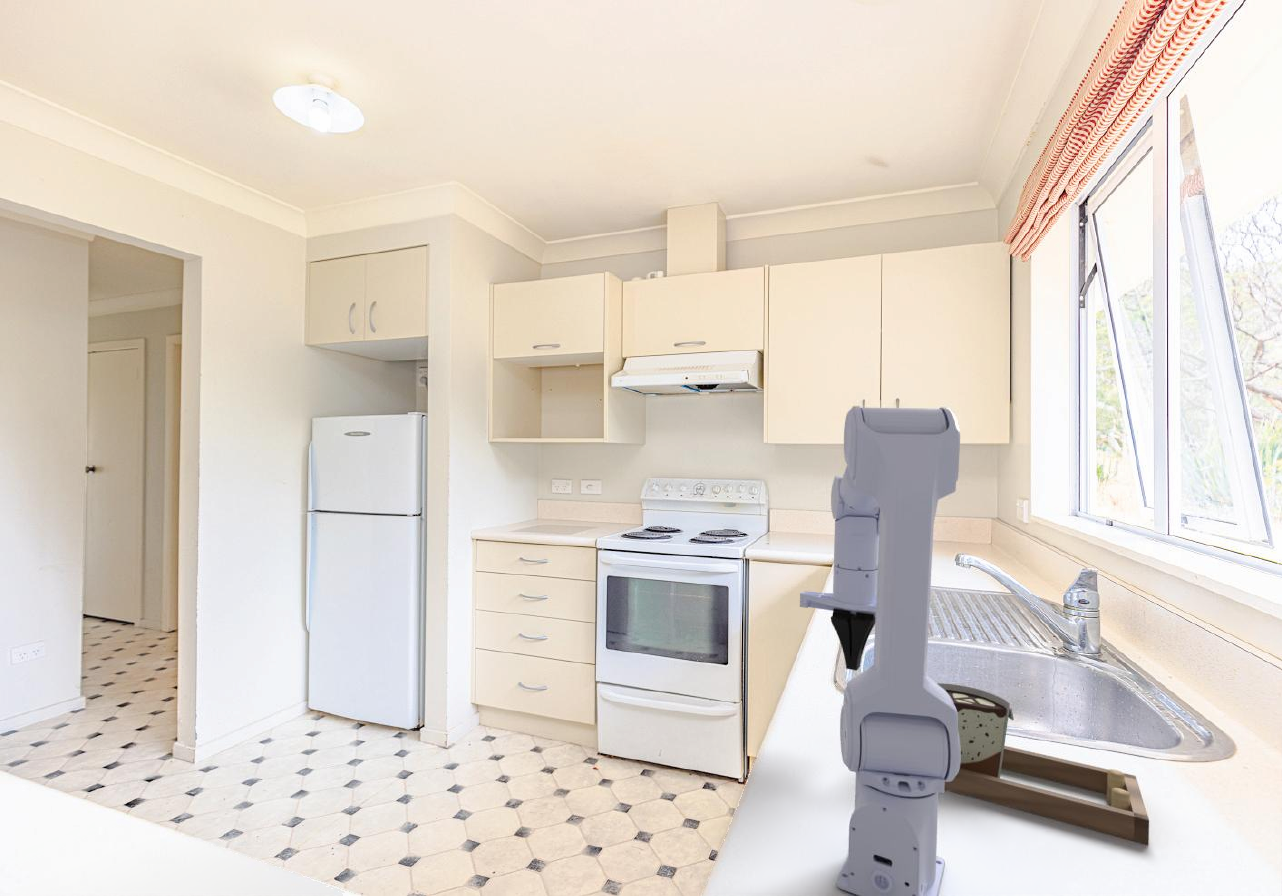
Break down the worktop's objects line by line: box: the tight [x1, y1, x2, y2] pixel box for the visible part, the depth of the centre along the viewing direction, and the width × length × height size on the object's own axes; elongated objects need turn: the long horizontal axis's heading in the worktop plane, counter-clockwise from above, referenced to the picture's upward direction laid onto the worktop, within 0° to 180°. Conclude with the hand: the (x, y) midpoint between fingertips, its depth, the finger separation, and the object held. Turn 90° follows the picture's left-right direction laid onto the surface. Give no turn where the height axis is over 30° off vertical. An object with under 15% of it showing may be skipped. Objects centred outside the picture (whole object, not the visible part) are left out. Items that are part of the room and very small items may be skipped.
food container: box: [936, 682, 1015, 778], centre depth 81 cm, size 12×6×10 cm, turn 84°
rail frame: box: [944, 745, 1150, 846], centre depth 76 cm, size 11×20×4 cm, turn 58°
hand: (853, 667), depth 87 cm, fingers closed
